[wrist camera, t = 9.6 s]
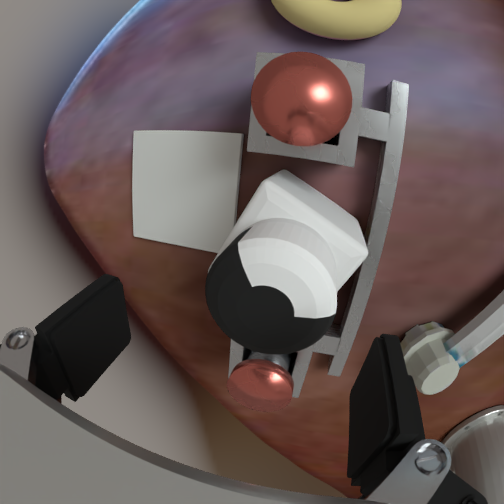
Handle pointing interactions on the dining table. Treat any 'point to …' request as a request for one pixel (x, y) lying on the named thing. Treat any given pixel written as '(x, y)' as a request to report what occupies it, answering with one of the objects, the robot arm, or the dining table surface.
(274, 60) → the plunger
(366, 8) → the donut
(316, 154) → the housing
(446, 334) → the grey piece
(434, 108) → the dining table surface
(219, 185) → the mat
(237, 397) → the plunger
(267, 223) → the medicine bottle
